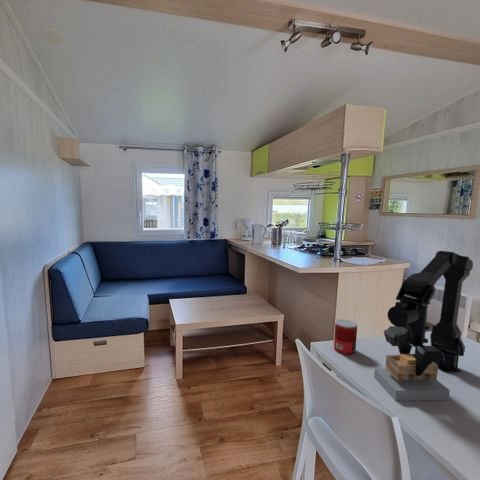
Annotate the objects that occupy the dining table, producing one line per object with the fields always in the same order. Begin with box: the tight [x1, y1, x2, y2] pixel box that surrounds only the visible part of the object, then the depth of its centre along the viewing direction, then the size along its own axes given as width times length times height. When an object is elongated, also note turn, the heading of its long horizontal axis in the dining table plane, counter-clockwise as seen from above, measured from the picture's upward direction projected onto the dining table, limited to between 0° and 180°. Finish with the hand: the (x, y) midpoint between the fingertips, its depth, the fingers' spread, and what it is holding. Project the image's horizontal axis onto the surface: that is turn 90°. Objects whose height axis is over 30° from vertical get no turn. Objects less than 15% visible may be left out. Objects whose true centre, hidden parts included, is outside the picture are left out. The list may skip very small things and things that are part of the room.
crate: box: [399, 353, 416, 365], centre depth 91 cm, size 5×4×2 cm
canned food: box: [333, 318, 358, 355], centre depth 116 cm, size 8×8×11 cm
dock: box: [373, 367, 451, 402], centre depth 92 cm, size 16×12×3 cm
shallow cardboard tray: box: [385, 354, 439, 380], centre depth 91 cm, size 12×7×4 cm, turn 93°
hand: (410, 369), depth 91 cm, fingers closed on shallow cardboard tray, 7 cm apart
